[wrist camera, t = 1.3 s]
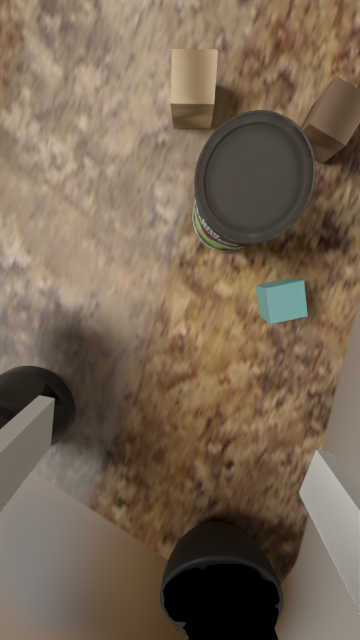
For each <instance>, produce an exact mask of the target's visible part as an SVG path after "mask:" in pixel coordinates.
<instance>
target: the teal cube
mask: <svg viewBox="0 0 360 640" xmlns="http://www.w3.org/2000/svg"><path fill="white" fill-rule="evenodd" d="M255 286H256V293H257V299H258V306H259V312H260V317H262V318H263V319H264V320H266V321H267V322H269V323H270V324H273V323H278V322H283V321H288V320H293V319H298V318H303V317H308V314H307V304H306V295H305V285H304V280H299V279H291V278H287V279H282V280H278V281H273V282H269V283H264V284H259V285H255Z"/></svg>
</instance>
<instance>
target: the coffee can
mask: <svg viewBox="0 0 360 640" xmlns="http://www.w3.org/2000/svg"><path fill="white" fill-rule="evenodd" d="M315 179H316V163H315V157H314V153H313V150H312V147H311V144H310V142H309V140H308V138H307V137H306V135H305V133H304V132H303V131H302V129H301V128H300V127H299V126H298V125H297V124H296V123H295V122H294V121H292V120H291V119H289V118H288V117H286V116H284V115H282V114H279V113H276V112H273V111H264V110H256V111H249V112H246V113H242V114H239V115H237V116H234V117H233V118H231V119H229V120H227V121H226V122H225V123H223V124H222V125H221V126H220V127H219V128H218V129H217V130H216V131H215V132H214V133H213V134H212V135H211V136H210V138H209V139H208V141H207V142H206V144H205V146H204V147H203V149H202V151H201V154H200V156H199V159H198V162H197V166H196V171H195V200H194V207H193V215H192V218H193V225H194V228H195V231H196V233H197V235H198V237H199V238H200V240H201V241H202V242H203V243H204V244H205V245H206V246H208V247H210V248H211V249H214V250H216V251H221V252H232V251H236V250H239V249H241V248H244V247H247V246H250V245H253V244H258V243H263V242H266V241H269V240H272V239H274V238H276V237H278V236H280V235H282V234H283V233H285V232H286V231H287V230H289V229H290V228H291V227H292V226H293V225H294V224H295V223H296V222H297V221H298V220H299V218H300V217H301V216H302V215H303V213H304V211H305V210H306V208H307V206H308V204H309V202H310V200H311V197H312V194H313V190H314V186H315Z"/></svg>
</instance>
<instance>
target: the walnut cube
mask: <svg viewBox="0 0 360 640" xmlns="http://www.w3.org/2000/svg"><path fill="white" fill-rule="evenodd" d="M359 123H360V90H358V89H357V88H355V87H354V86H352V85H350V84H349V83H347V82H346V81H344V80H342V79H341V78H339V77H338V76H335V77H334V79H333V80H332V81H331V82H330V84H329V85H328V86H327V88H326V89H325V90H324V92H323V93H322V94H321V96H320V97H319V98H318V99H317V101H316V102H315V103H314V105H313V106H312V108H311V110H310V111H309V113H308V115H307V117H306V119H305V121H304V122H303V124H302V126H301V129H302V131H303V132H304V133H305V135H306V137H307V138H308V140H309V142H310V144H311V147H312V150H313V153H314V157H315V160H316V161H318V162H320V163H321V164H323V163H324V162H325V161H327V160H328V159H329V158H331V157H332V156H333V155H335V154H336V153H337V152H338V151H340V150H341V149H342V148H344V147H345V146H346V145H347V143H348V141H349V140H350V138H351V136H352V135H353V133H354V131H355V130H356V128H357V126H358V125H359Z"/></svg>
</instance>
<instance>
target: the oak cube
mask: <svg viewBox="0 0 360 640" xmlns="http://www.w3.org/2000/svg"><path fill="white" fill-rule="evenodd" d="M217 53H218V50H209V49H172V66H171V111H172V120H173V128H180V129H211V123H212V116H213V110H214V101H215V85H216V69H217Z"/></svg>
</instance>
